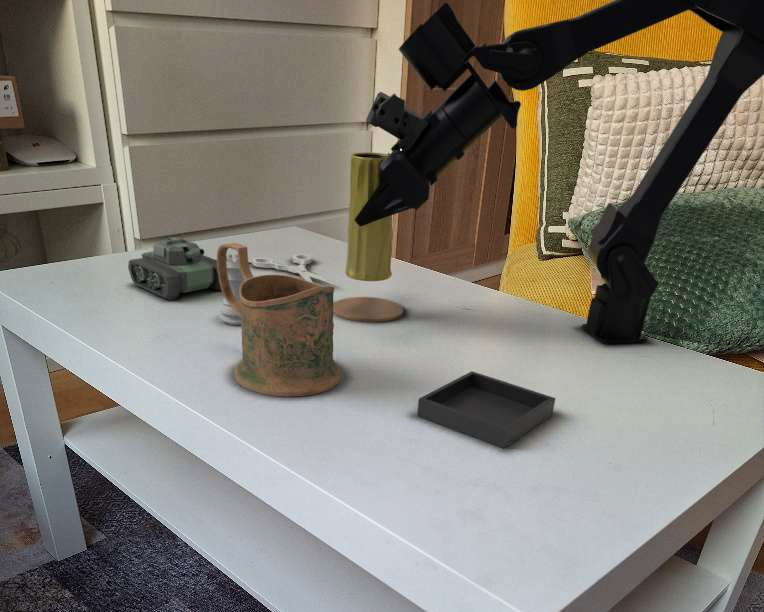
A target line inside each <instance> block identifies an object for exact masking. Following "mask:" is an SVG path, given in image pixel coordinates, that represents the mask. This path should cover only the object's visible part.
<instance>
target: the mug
mask: <svg viewBox="0 0 764 612" xmlns="http://www.w3.org/2000/svg"><path fill="white" fill-rule="evenodd" d="M229 249H232V250H235V251H236V252H237V254H238V260H239V266H240V270H241V273H242V276H243V278H244V279H245V281H244V282H243V283H242V284H241V286H240V289H239V294H240V303H239V302H238V301H237V300H236V298H235V297H234V295H233V293H232V291H231V288H230V284H229V280H228V274H227V263H226V255H227V253H228V250H229ZM248 253H249V252H248V247H247V246H246V245H243V244H240V243H235V242H231V243H223V244H221V245H220V246H219V247H218V249H217V252H216V260H217V269H218V277H219V282H220V287H221V290H220V291H221V293H222V295H223V298H224V297H225V299H226V301H227V302H228V303H229V305H230V306H231V307H232V308H233V309H234V310H235V311H236V312H237V313H238V315H239V316H240V318H241V325H240V326H241V349H242V359H241V360H240V361H239V362H238V363H237V364H236V366H235V368H234V378H235V380H236V382H237V383H238V385H240V386H241V387H243V388H244V389H247V390H249V391H252V392H254V393H258V394H262V395H266V396H274V397H305V396H311V395H316V394H320V393H324V392H327V391H330V390H331V389H332V388H335V386H337V385H338V384H339V383H340V381H341V379H342V370H341V368H340V365H338V364H337V363H336V361H335V360H334V326H335V323H334V311H333V305H334V293H335V287H334V286H326V285H321V284H319V283H316V282H315V283H314V282H313V281H312V282H313V283H312V282H309V281H306V280H305V279H303V278H299V277H294V276H291V275H287V274H286V275H285V274H263V275H257V276H256V275H255V276H254V274H253V273H252V271H251V268H250V262H248V257H249V255H248Z"/></svg>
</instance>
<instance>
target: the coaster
mask: <svg viewBox="0 0 764 612" xmlns="http://www.w3.org/2000/svg"><path fill="white" fill-rule="evenodd" d="M333 313H334V314H336V315H337V316H339V317H341V318H343V319H346V320H347V319H348V320H351V321H356V322H364V323H381V322H389V321H393V320H397V319H399V318H400V317H402V315H403V313H404V309H403V307H402V305H400V304H399V303H397V302H395V301H392V300H388V299H385V298H379V297H370V296H354V297H346V298H343V299H340V300H337V301H336V302H333Z"/></svg>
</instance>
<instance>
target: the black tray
mask: <svg viewBox="0 0 764 612" xmlns="http://www.w3.org/2000/svg"><path fill="white" fill-rule="evenodd" d="M555 403H556V397H554V396H551V395H548V394H545V393H541V392H538V391H536V390H535V391H534V390H532V389H529V388H526V387H522V386H520V385H516V384H513V383H511V382H507V381H504V380H500V379H497V378H495V377H491V376H488V375H485V374H482V373H479V372H476V371H473V370H472V371H469V372H467V373H465V374H464V375H462V376H460V377H457V378H456V379H454V380H452V381H449V382H448V383H446V384H444V385H442V386H440V387H439V388H437V389H435V390H432V391H430V392H429V393H427V394H424V395H423V396H421V397H419V398H418V403H417V413H416V414H417V415H416V416H417V417H419V418H422V419H425V420H427V421H430V422H433V423H435V424H438V425H440V426H443V427H446V428H448V429H450V430H454V431H457V432H459V433H462V434H464V435H468V436H469V437H472V438H476V439H478V440H481V441H484V442H486V443H489V444H491V445H495V446H497V447H499V448H501V449H505V448H507V447H508V446H510V445H512V444H513V443H515V442H516V441H517V440H518V439H520V438H522V437H523V436H524V435H526V434H527V433H528V432H530V431H532V430H533V429H534V428H535V427H537V426H538V425H540V424H542V423H543V422H544V421H546V420H547V419H549V418H550V417H552V416H553V415H554V414H553V413H554V409H555Z"/></svg>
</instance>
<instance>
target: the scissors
mask: <svg viewBox="0 0 764 612" xmlns="http://www.w3.org/2000/svg"><path fill="white" fill-rule="evenodd" d="M292 262H293V263H294V264H298V265H297V266H295V265H287V264H286V265H285V264H280V263H277V262H275V260H274V259H272V258H268V257H267V258H266V257H251V256H248V263H249V264H250V263H251V265H252V266H253V267H256V268H257V267H258V268H265V269H266V268H267V269H268V268H271V269H276V270H281V271H288V272H290V273H293V274H298V275H300V276H301V278H302V279H303V280H306V281H309V282H312V283H314V282H313V280H312V278H313V279H317V280H320V281H323V282H326V283H329V284H332V285H335V286H339V287H340V285H339V284H337V283H335V282H333V281H331V280H329V279H328V278H327V279H326V278H325V277H322V276H320V275H317V274H315V273H312V272H311V271H308V270H307V269H306V267H307V264H308V265H309V264H311V263H312V262H313V259H312V256H311V255H309V254H304V253H300V254H294V255H293V256H292Z"/></svg>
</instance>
